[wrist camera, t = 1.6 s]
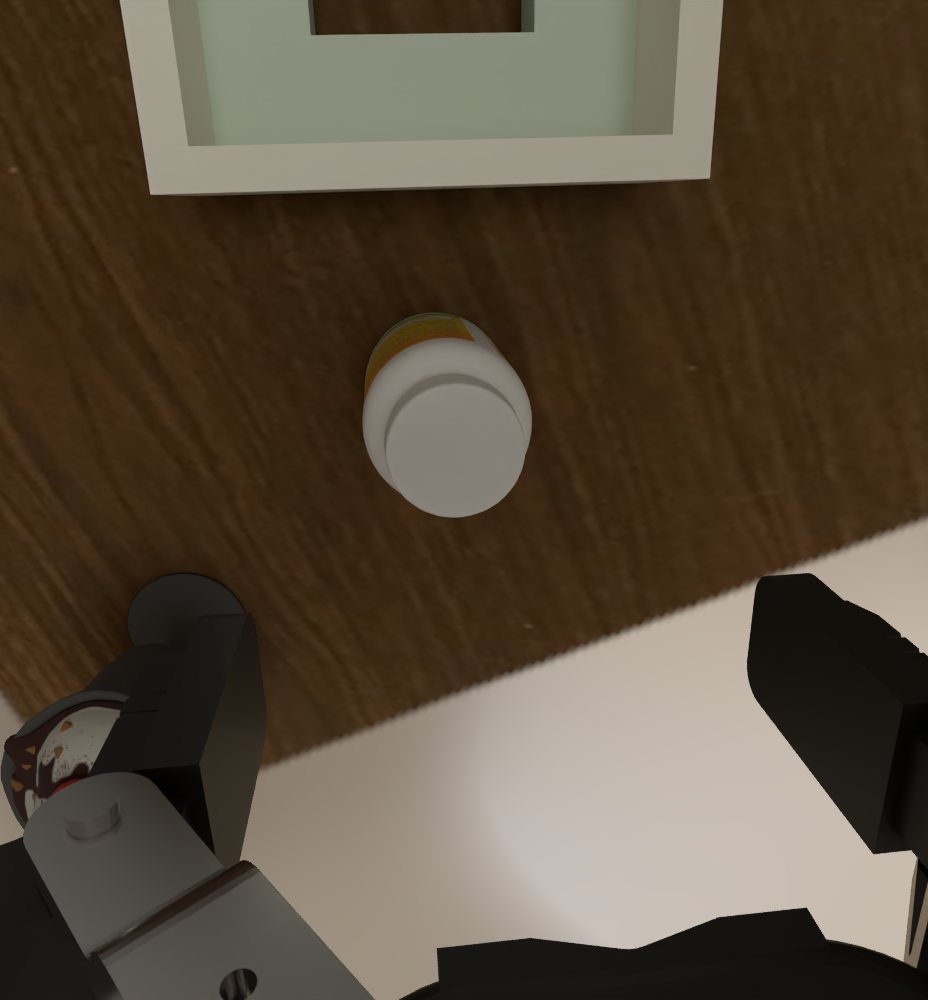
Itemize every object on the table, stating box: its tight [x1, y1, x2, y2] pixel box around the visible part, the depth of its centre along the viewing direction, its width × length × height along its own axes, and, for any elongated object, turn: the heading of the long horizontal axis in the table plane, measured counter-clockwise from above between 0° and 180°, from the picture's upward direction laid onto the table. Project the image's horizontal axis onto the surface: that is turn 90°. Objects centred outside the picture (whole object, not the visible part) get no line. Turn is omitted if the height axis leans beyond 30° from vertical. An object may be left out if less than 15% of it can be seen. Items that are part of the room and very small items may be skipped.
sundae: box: [1, 573, 245, 829], centre depth 27 cm, size 7×7×15 cm
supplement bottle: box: [362, 313, 532, 517], centre depth 27 cm, size 5×5×10 cm
